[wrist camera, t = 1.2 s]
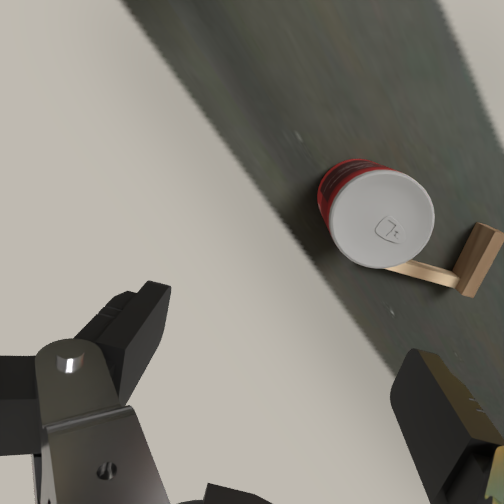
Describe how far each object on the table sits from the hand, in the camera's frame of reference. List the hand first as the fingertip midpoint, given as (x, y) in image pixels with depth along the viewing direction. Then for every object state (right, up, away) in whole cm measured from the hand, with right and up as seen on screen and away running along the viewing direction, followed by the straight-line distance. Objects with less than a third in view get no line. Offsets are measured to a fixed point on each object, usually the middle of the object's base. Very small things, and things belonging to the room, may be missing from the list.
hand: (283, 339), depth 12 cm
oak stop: (+18, +4, +27) cm, 32 cm away
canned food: (+10, +9, +26) cm, 29 cm away
